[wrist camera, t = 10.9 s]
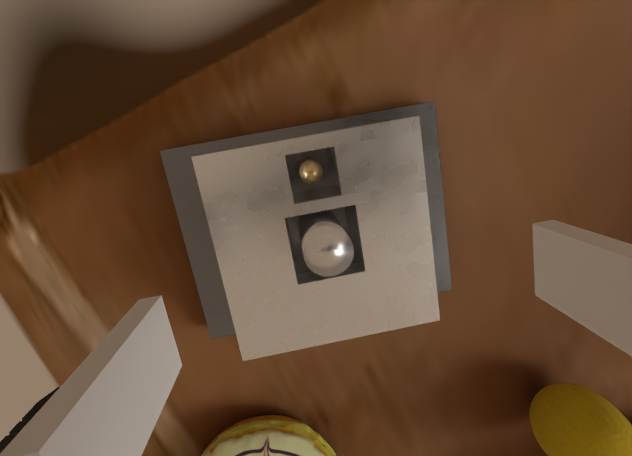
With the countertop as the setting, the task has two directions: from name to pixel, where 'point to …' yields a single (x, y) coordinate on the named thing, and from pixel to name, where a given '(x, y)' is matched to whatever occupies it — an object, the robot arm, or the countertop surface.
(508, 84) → the countertop surface
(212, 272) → the fixture
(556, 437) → the lemon
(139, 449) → the robot arm
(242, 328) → the white boxy piece
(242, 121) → the countertop surface
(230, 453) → the decorated donut
